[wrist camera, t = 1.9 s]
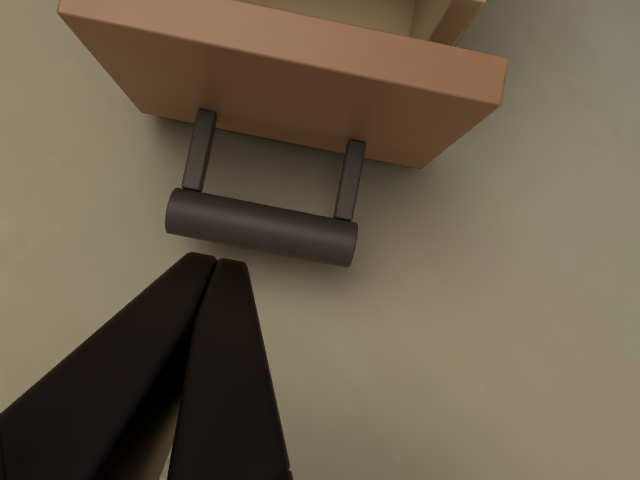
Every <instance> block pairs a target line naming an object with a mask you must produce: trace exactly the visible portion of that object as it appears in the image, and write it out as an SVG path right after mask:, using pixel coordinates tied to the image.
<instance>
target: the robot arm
mask: <svg viewBox="0 0 640 480" xmlns="http://www.w3.org/2000/svg"><path fill="white" fill-rule="evenodd" d="M172 444H173V447H172ZM171 447H172V453H171V459H170V465H169V471H168V477H167V480H293V476H292V472H291V471H290V470H289V468H290V463H289V459H288V454H287V449H286V444H285V440H284V435H283V430H282V426H281V421H280V416H279V412H278V407H277V402H276V398H275V393H274V388H273V384H272V379H271V374H270V370H269V365H268V360H267V355H266V351H265V346H264V341H263V337H262V332H261V327H260V323H259V318H258V313H257V309H256V304H255V299H254V295H253V290H252V285H251V281H250V276H249V271H248V267H247V265H246V263H245V262H242V261H237V260H232V259H226V258H220V259H219V260H218V261H217V259H216V258H215V257H214V256H211V255H205V254H200V253H195V252H190V253H187V254H186V255H184V256H183V257H182V258H181V259H180V260H178V261H177V262H176V263H175V264H174V265H173V266H172V267H170V268H169V269H168V270H167V271H166V272H165V273H163V274H162V275H161V276H160V277H159V278H158V279H156V280H155V281H154V282H153V283H152V284H151V285H149V286H148V287H147V288H146V289H145V290H144V291H142V292H141V293H140V294H139V295H138V296H137V297H135V298H134V299H133V300H132V301H131V302H130V303H128V304H127V305H126V306H125V307H124V308H123V309H122V310H120V311H119V312H118V313H117V314H116V315H115V316H113V317H112V318H111V319H110V320H109V321H108V322H106V323H105V324H104V325H103V326H102V327H101V328H99V329H98V330H97V331H96V332H95V333H94V334H92V335H91V336H90V337H89V338H88V339H87V340H85V341H84V342H83V343H82V344H81V345H80V346H78V347H77V348H76V349H75V350H74V351H73V352H72V353H70V354H69V355H68V356H67V357H66V358H65V359H63V360H62V361H61V362H60V363H59V364H58V365H56V366H55V367H54V368H53V369H52V370H51V371H49V372H48V373H47V374H46V375H45V376H44V377H42V378H41V379H40V380H39V381H38V382H37V383H35V384H34V385H33V386H32V387H31V388H30V389H28V390H27V391H26V392H25V393H24V394H23V395H21V396H20V397H19V398H18V399H17V400H16V401H14V402H13V403H12V404H11V405H10V406H9V407H8V408H6V409H5V410H4V411H3V412H2V413H1V414H0V480H159V478H160V475H161V473H162V470H163V467H164V465H165V462H166V460H167V457H168V455H169V452H170V449H171Z"/></svg>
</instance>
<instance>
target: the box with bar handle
mask: <svg viewBox="0 0 640 480" xmlns="http://www.w3.org/2000/svg"><path fill="white" fill-rule="evenodd" d="M486 1H487V0H59V4H58V9H57V14H58V15H59V16H60V17H61V18H62V19H63V21H64V22H65V23H66V24H67V25H68V27H69V28H70V29H71V30H72V31H73V32H74V34H75V35H76V36H77V37H78V38H79V39H80V41H81V42H82V43H83V44H84V45H85V47H86V48H87V49H88V50H89V51H90V52H91V54H92V55H93V56H94V57H95V58H96V60H97V61H98V62H99V63H100V64H101V65H102V67H103V68H104V69H105V70H106V71H107V72H108V74H109V75H110V76H111V77H112V78H113V80H114V81H115V82H116V83H117V84H118V85H119V87H120V88H121V89H122V90H123V91H124V93H125V94H126V95H127V96H128V97H129V98H130V100H131V101H132V102H133V103H134V104H135V105H136V107H137V108H138V109H139V110H140V111H141V112H142V113H146V114H151V115H156V116H161V117H166V118H171V119H175V120H180V121H185V122H190V123H195V124H194V129H193V134H192V139H191V143H190V148H189V153H188V158H187V162H186V167H185V172H184V177H183V181H182V188H183V189H181V188H175V189H174V190H173V192H172V193H171V196H170V199H169V202H168V206H167V211H166V218H165V228H166V232H167V233H170V234H175V235H180V236H185V237H190V238H196V239H201V240H206V241H211V242H217V243H222V244H227V245H232V246H237V247H243V248H248V249H253V250H258V251H264V252H269V253H274V254H279V255H284V256H290V257H295V258H300V259H305V260H311V261H316V262H321V263H326V264H331V265H337V266H342V267H347V268H348V267H349V266H350V264H351V262H352V258H353V255H354V250H355V245H356V240H357V232H358V224H357V223H355V222H350V221H351V220H352V219H353V213H354V208H355V203H356V197H357V192H358V187H359V181H360V176H361V170H362V165H363V160H364V158H369V159H374V160H379V161H384V162H389V163H394V164H399V165H403V166H408V167H413V168H418V169H421V168H423V167H424V166H425V165H427V164H428V163H429V162H430V161H432V160H433V159H434V158H435V157H437V156H438V155H439V154H440V153H442V152H443V151H444V150H445V149H447V148H448V147H449V146H450V145H452V144H453V143H454V142H455V141H457V140H458V139H459V138H460V137H462V136H463V135H464V134H465V133H467V132H468V131H469V130H471V129H472V128H473V127H474V126H476V125H477V124H478V123H479V122H481V121H482V120H483V119H484V118H486V117H487V116H488V115H489V114H491V113H492V112H493V111H494V110H496V109H497V108H498V107H499V106H500V105H501V102H502V96H503V90H504V84H505V78H506V72H507V66H508V58H506V57H501V56H497V55H492V54H487V53H483V52H478V51H473V50H468V49H464V48H459V47H454V45H455V43H456V42H457V41H458V39H459V38H460V37H461V35H462V34H463V33H464V31H465V30H466V28H467V27H468V26H469V24H470V23H471V22H472V20H473V19H474V18H475V16H476V15H477V13H478V12H479V11H480V9H481V8H482V7H483V5H484V4H485V3H486ZM215 128H220V129H225V130H230V131H235V132H240V133H245V134H250V135H255V136H260V137H265V138H270V139H275V140H280V141H285V142H289V143H294V144H299V145H304V146H309V147H314V148H319V149H324V150H329V151H334V152H339V153H344V154H345V157H344V162H343V168H342V173H341V178H340V183H339V189H338V194H337V199H336V205H335V210H334V215H333V218H330V217H325V216H319V215H314V214H309V213H304V212H299V211H294V210H289V209H284V208H279V207H273V206H268V205H263V204H258V203H253V202H248V201H243V200H238V199H233V198H227V197H222V196H217V195H212V194H207V193H202V190H203V185H204V180H205V175H206V170H207V165H208V161H209V156H210V151H211V146H212V141H213V136H214V132H215Z"/></svg>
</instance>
